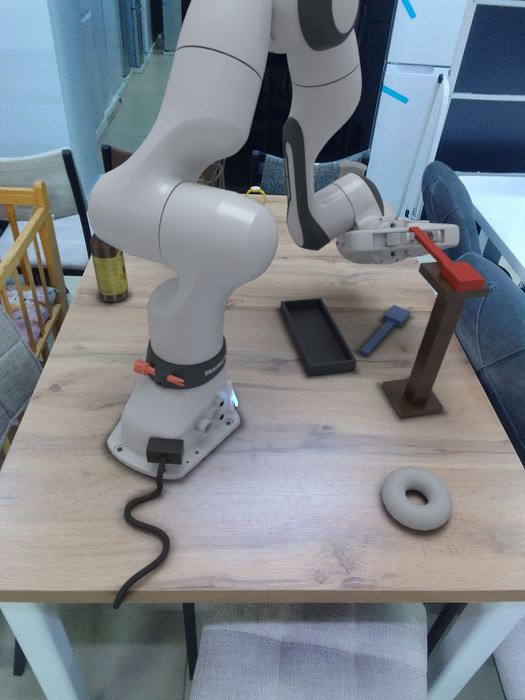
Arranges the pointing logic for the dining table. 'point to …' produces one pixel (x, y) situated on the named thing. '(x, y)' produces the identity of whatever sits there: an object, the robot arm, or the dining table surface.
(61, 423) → the dining table surface
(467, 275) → the red spoon
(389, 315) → the blue spoon
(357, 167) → the chalice
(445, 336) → the brown stand
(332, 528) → the dining table surface
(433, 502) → the donut
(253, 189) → the gold gemstone ring
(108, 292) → the sauce bottle
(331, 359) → the tray
